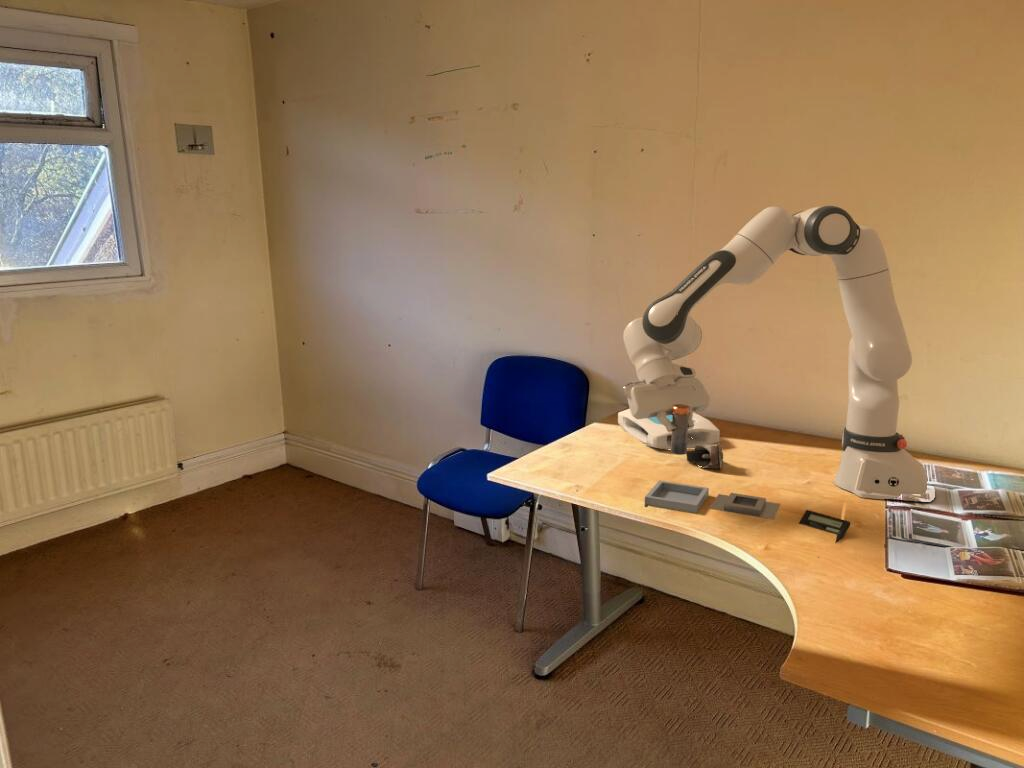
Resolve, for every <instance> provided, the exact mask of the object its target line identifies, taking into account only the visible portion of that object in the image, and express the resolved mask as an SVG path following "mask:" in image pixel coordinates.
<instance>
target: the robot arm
mask: <svg viewBox="0 0 1024 768" xmlns="http://www.w3.org/2000/svg"><path fill="white" fill-rule="evenodd" d="M883 245H884V244H883V243H882V241H881V238H880V236H879V233H878V231H876V229H874V228H873V227H870V226H867V225H866V226H865V225H858V223H856V221H855V220H854V219H853V217H852V216H851V215H850V214H849V212H848V211H846V210H844V208H842V207H839V206H835V205H825V206H815V207H814V206H813V207H810V208H809V209H806V210H803V211H799V212H795V213H794V214H791V213H790V212H789V211H788V210H787V209H784V208H782V207H778V206H775V205H774V206H767V207H765V208H764V209H763V210H761V211H760V212H759V213H757V214H756V215H755V216H754V217H752V218H751V219H750V220H749V221H748V222H747V223H746V224H745V225H744V226H743V227H742V228H741V229H740V230H739V231H738V232H737V234H735V235H734V236H733V238H731V240H730V241H729V242H728V243H727V244H725V245H724V246H723V247H722V248H721V249H719V250H717V251H715V252H713V253H712V254H711V255H709V256H708V257H707V258H705V260H703V261H702V262H701V263H700V264H699V265H698V266H697V267H695V268H694V269H693V270H692V271H691V272H690V273H689V274H688V275H687V276H686V277H685V278H684V279H683V280H682V281H680V283H678V284H677V285H676V286H675V287H674V288H673V289H672V290H671V291H670V292H668V293H666V294H665V295H663V296H660V297H659V298H657V299H656V300H654V301H653V302H651V304H649V306H647V308H646V310H645V311H644V314H643V316H642V317H641V316H640V317H638V318H635V319H633V320H632V321H631V322H629V323H628V324H627V326H626V327H625V329H624V330H623V335H622V336H623V337H622V339H623V343H624V347H625V350H626V354H627V355H628V357H629V361H630V362H631V364H632V366H634V368H635V373H636V376H637V379H638V380H636V381H628V382H627V383H626V384H625V385H624V386H623V391H624V394H625V396H626V397H627V403H628V407H629V409H630V411H631V414H632V416H633V417H634V418H636V419H645V418H652V417H657V419H658V421H659V422H660V423H662V424H663V425H664V426H665V427H666V429H667V431H668V432H672V431H675V429H676V426H675V423H674V422H671V421H670V420H669V419H668V418H667V417H666V416H668V415H673V413H672V412H673V405H677V404H682V405H688V406H689V419H688V429H692V428H693V427H694V423H693V421H692V417H693V412H694V413H697V412H703V411H705V410H706V409H707V408H708V407H709V406H710V403H711V398H710V395H709V394H708V391H707V389H706V387H705V386H704V384H703V382H702V381H701V380H700V379H698V378H697V377H696V376H697V372H696V370H695V369H694V367H689V366H683V365H680V364H677V363H673V361H674V360H678V359H680V358H684V357H685V356H688V355H690V354H692V353H693V352H695V351H696V350H697V349H698V348H699V346H700V344H701V343H702V342H701V341H702V338H703V332H702V331H703V330H702V329H701V327H700V325H699V324H698V323H697V322H696V321H695V320H694V318H692V316H690V314H691V311H692V310H693V309H694V308H695V307H696V306H697V305H698V304H699V303H701V302H702V301H703V300H704V299H705V298H706V297H707V296H708V294H710V293H711V292H712V291H713V290H714V289H715V288H717V287H719V286H721V285H722V284H734V285H739V286H741V285H751V284H753V283H755V282H756V281H758V280H759V279H760V278H761V277H762V276H764V275H765V274H766V273H767V272H768V271H769V269H770V268H771V267H772V266H773V265H774V264H775V263H776V262H777V260H778V259H779V258H780V257H781V256H782V255H784V253H785V252H787V251H791V252H793V253H795V254H797V255H799V256H800V255H801V256H811V257H818V256H823V255H828V256H829V257H830V258H831V260H832V262H833V264H834V267H835V272H836V277H837V281H838V282H837V283H838V289H839V293H840V297H841V298H840V299H841V302H842V303H841V304H842V307H843V311H844V314H845V318H846V321H847V323H848V327H849V331H850V333H851V338H850V340H849V343H848V365H847V367H848V368H847V369H848V375H847V376H848V377H847V378H848V403H847V414H846V422H845V423H846V424H845V427H844V428H843V432H842V439H841V447H842V448H841V450H842V454H841V456H840V457H841V459H840V461H839V464H838V465H839V466H838V468H837V472H836V474H835V476H834V479H833V482H834V484H835V485H836V486H837V487H839V488H841V489H843V490H845V491H848V492H851V493H853V494H854V495H856V496H857V497H860V498H863V499H875V500H884V499H888V498H895V497H899V496H900V495H901V494H923V493H925V492H926V490H927V482H928V477H927V472H926V469H925V467H924V465H923V464H922V463H921V462H920V461H919V460H918V459H916V458H915V457H914V456H912V455H911V454H910V452H908V451H906V448H907V446H908V442H907V441H906V440H905V437H904V435H903V433H901V434H900V433H898V432H897V427H898V426H897V425H898V417H899V408H900V398H899V389H898V386H899V385H898V380H899V379H902V378H903V377H904V376H905V375H906V374H908V372H909V371H910V368H911V366H912V363H913V357H912V352H911V349H910V346H909V342H908V338H907V335H906V334H907V333H906V330H905V327H904V324H903V321H902V317H901V315H900V312H899V309H898V305H897V303H896V299H895V293H894V288H893V283H892V277H891V273H890V267H889V262H888V259H887V258H888V257H887V255H886V252H885V249H884V246H883Z"/></svg>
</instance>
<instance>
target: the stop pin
mask: <svg viewBox="0 0 1024 768" xmlns="http://www.w3.org/2000/svg"><path fill="white" fill-rule="evenodd" d="M672 413H673V417H672V422H674V423H675V426H676V429H675V431H672V435H671V440H670V441H671V451H670V453H671V454H673V455H681V456H682V455H687V454H686V453H687V451H688V449H687V440H689V439H688V437H689V436H688V419H689V406H688V405H682V404H677V405H673V412H672Z"/></svg>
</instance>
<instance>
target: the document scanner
mask: <svg viewBox="0 0 1024 768" xmlns="http://www.w3.org/2000/svg"><path fill="white" fill-rule="evenodd" d="M666 417H667V418H668V419H669V420H670V421H671V422H672V417H673V415H668V416H666ZM692 421H693V423H694V427H693V428H692V429H688V435H689V436H690V437H689V436H688V437H689V439H687V448H694V449H695V447H696V446H697V445H711V444H717V443H720V435H721V430H720V429H719V428H718V427H717V426H716V425H715V424H714V423H713V422H712V421H710V419H707V418H706V417H704V416H702V415H700V414H698V413H697V412H693V417H692ZM617 423H618V425H619V426H620V427H621V429H623V431H624V432H625V433H626V432H627V433H626V434H628V436H630V435H631V436H630V437H632V436H633V437H634V438H633V437H632V438H633V439H635V438H636V439H637V440H636V439H635V440H636V441H638V440H639V441H640V442H642V443H643V444H646V445H647V446H646V445H645V446H646V447H650V448H656V449H660V450H663V449H665V451H669V450H668V449H671V440H668V436H669V437H670V436H672V432H668V431H667V429H666V427H665V426H664V425H663V424H662V423H660V422H659V421H658V419H657V417H652V418H645V419H636V418H634V417H633V416H632V414H631V411H630V408H627V409H625V410H622V411H619V412H618V413H617ZM640 429H642V430H640ZM643 430H644V431H643ZM691 437H692V438H693V439H692V438H691ZM639 441H638V442H639ZM640 442H639V443H640ZM642 443H641V444H642ZM643 444H642V445H643Z"/></svg>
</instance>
